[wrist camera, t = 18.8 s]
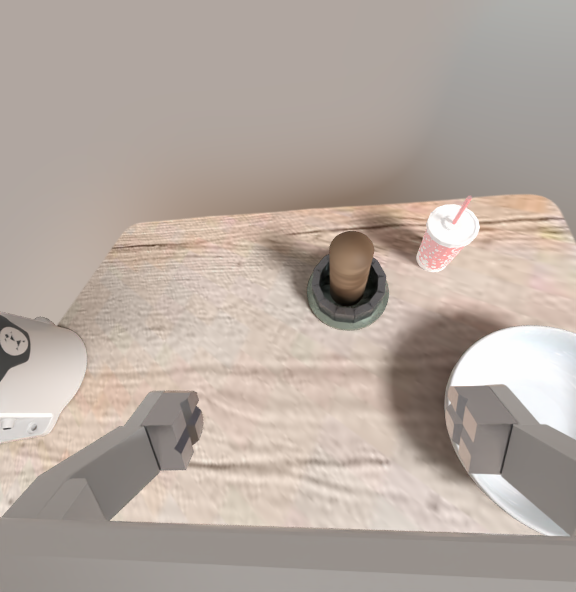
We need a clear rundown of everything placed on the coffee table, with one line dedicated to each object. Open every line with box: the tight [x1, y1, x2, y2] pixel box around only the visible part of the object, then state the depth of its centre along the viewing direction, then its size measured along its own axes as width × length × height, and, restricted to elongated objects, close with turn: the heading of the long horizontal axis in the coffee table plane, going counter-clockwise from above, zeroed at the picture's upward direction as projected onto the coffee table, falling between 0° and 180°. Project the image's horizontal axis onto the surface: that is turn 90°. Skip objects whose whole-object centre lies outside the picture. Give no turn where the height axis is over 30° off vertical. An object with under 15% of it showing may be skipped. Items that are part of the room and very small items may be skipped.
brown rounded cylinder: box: [329, 231, 374, 307], centre depth 41 cm, size 5×5×12 cm
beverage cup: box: [416, 196, 480, 272], centre depth 41 cm, size 6×6×14 cm
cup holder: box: [307, 254, 389, 331], centre depth 45 cm, size 12×12×4 cm
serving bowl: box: [444, 325, 576, 536], centre depth 35 cm, size 21×21×7 cm
